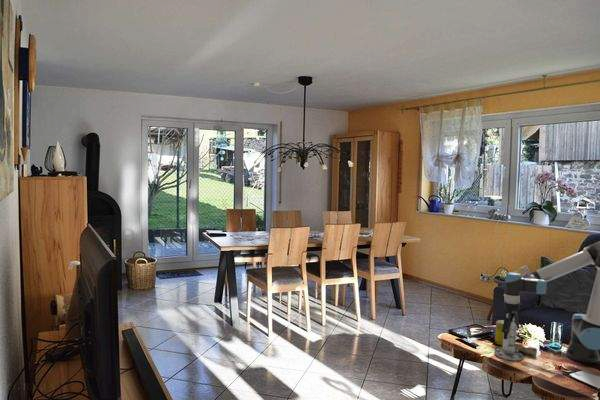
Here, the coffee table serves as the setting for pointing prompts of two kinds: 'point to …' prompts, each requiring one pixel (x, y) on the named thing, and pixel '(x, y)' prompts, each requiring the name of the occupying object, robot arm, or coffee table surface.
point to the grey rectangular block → (526, 350)
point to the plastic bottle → (511, 339)
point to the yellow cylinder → (499, 332)
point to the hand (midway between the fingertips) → (509, 341)
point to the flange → (508, 355)
